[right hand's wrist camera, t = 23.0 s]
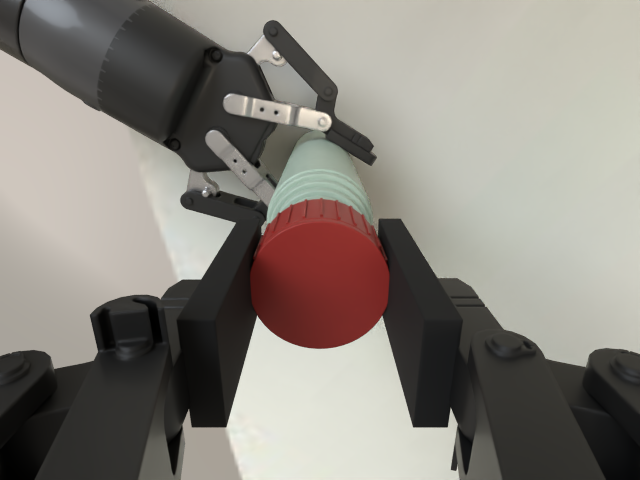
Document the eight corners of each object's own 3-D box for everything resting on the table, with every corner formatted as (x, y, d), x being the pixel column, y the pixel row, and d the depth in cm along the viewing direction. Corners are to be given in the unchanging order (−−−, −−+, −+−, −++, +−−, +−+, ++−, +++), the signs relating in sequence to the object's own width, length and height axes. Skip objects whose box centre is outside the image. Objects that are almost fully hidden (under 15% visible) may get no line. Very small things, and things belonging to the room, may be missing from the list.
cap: (383, 303, 15) (395, 344, 13) (267, 313, 15) (258, 355, 13) (378, 191, 13) (390, 213, 11) (249, 203, 14) (234, 227, 11)
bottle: (344, 186, 36) (385, 346, 14) (291, 183, 36) (243, 338, 13) (350, 131, 34) (406, 210, 12) (293, 127, 34) (244, 199, 12)
